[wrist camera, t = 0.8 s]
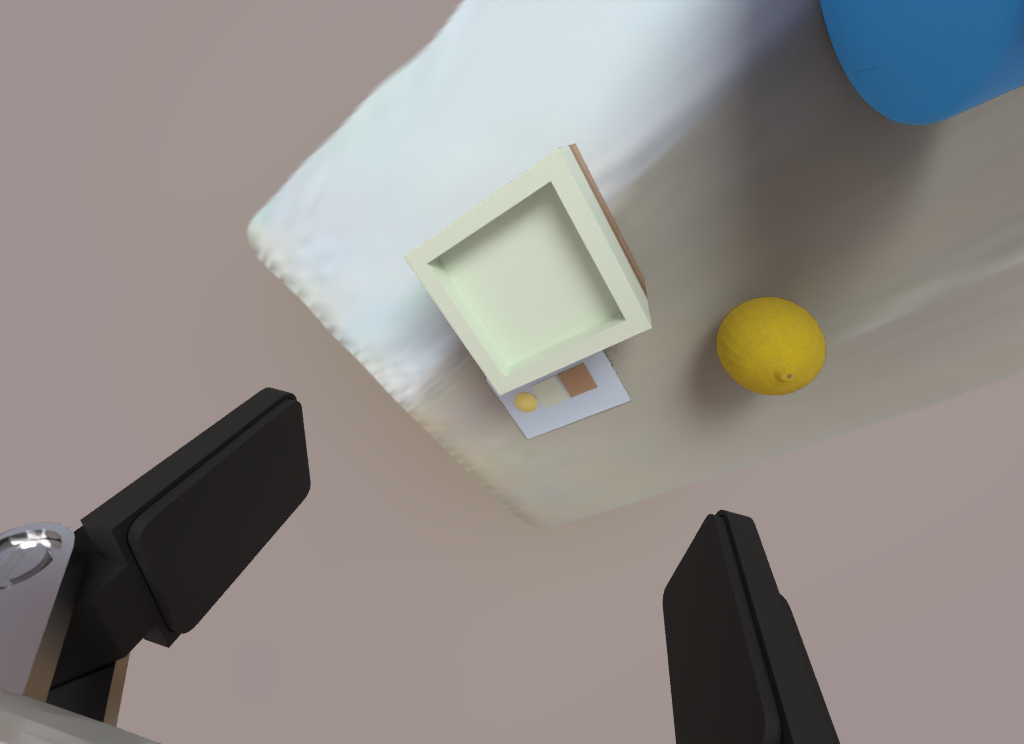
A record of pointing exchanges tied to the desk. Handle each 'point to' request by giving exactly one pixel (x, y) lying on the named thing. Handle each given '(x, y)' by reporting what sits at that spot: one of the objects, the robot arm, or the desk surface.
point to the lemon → (771, 346)
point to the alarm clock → (928, 53)
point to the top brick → (533, 276)
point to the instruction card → (565, 395)
